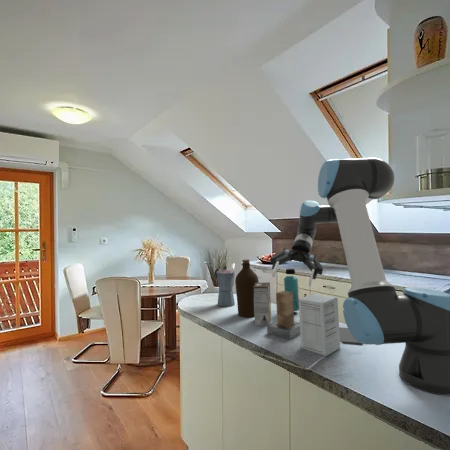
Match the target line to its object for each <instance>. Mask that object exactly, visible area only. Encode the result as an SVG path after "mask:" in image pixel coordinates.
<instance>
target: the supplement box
mask: <svg viewBox="0 0 450 450" xmlns="http://www.w3.org/2000/svg"><path fill="white" fill-rule="evenodd" d="M338 302H339V300H338V297H337V296H331V295H324V294H318V293H312V294H308V295H305V296H304V297H303V296H302V297H300V298H299V310H298V315H299V317H298V318H299V322H300V336H299V337H300V348H301V349H304V350H306V351H309V352H312V353H316V354H319V355H322V356H323V357H328V356H329V355H331V354H332V353H334V352H336V351H337V350H340V349H341V342H340V335H339V327H340V321H339V320H340V319H339V318H340V317H339V303H338Z"/></svg>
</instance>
